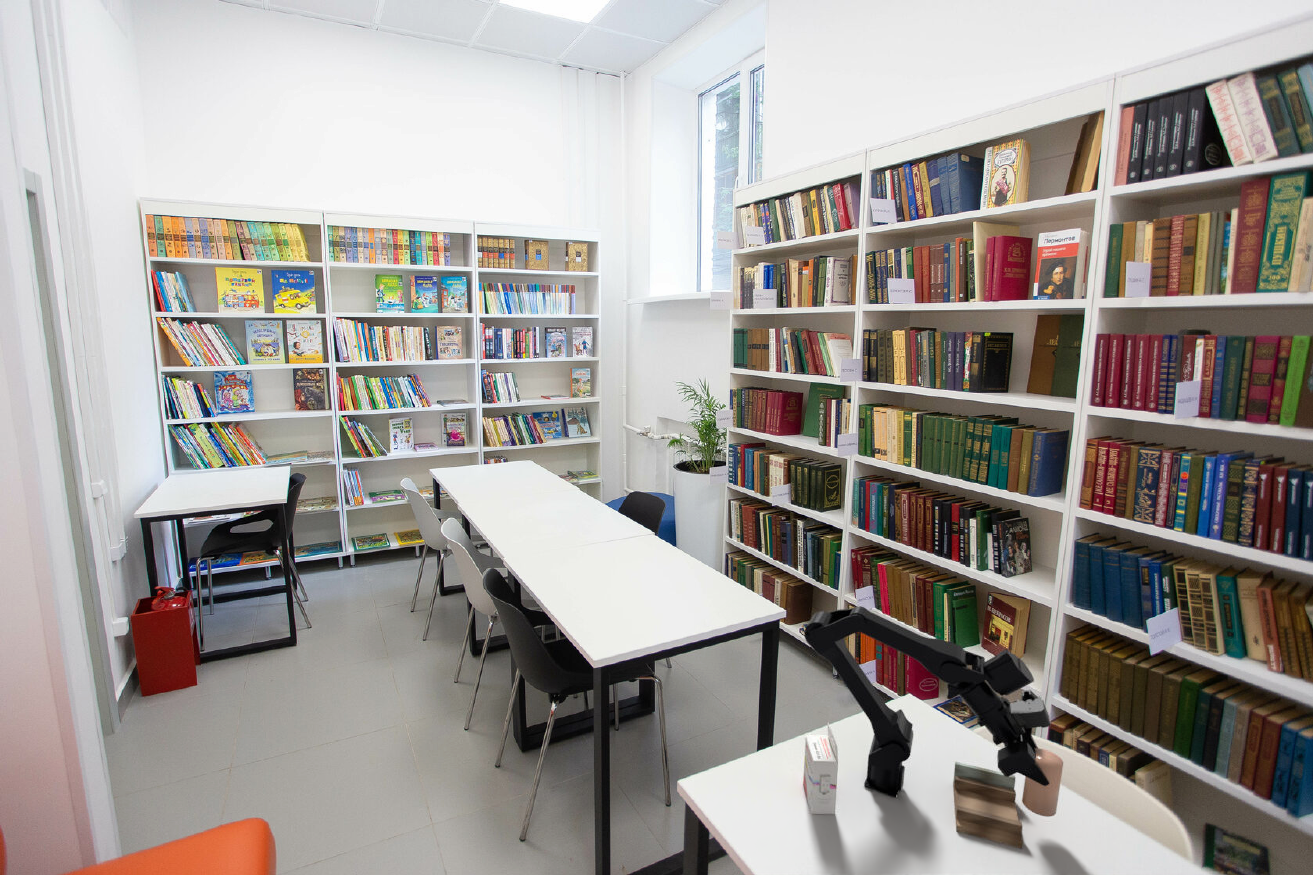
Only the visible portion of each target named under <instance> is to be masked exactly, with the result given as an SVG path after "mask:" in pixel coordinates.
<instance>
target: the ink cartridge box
mask: <svg viewBox="0 0 1313 875" xmlns="http://www.w3.org/2000/svg"><path fill="white" fill-rule="evenodd" d="M804 740H805V745H804V746H805V747H804V762H803V763H804V765H803V778H802V779H803V782H802V786H803V788H804V792H805V795H806V799H807V803H808V806H809V810H810V813H811V815H835V814H836V805H837V804H836V803H837V789H838V788H837V787H838V786H837V785H838V772H839V770H838V769H839V768H838V767H839V756H838V755H839V753H838V750H839V749H838V745H837V742H836V739H835V736H834V734H833V731H832V729H831V726H830V723H829V722H827V735H826V734H805V738H804Z"/></svg>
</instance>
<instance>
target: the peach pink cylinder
mask: <svg viewBox="0 0 1313 875" xmlns="http://www.w3.org/2000/svg"><path fill="white" fill-rule="evenodd" d="M1035 751H1036V762H1037V763H1038V765H1039V767H1040V768H1041V770H1042V771H1043V773H1044V774H1045V776H1046V778H1047V779H1048V781H1049V785H1047V786H1043V785H1041V784H1039V783H1037V782H1036V781H1034V780H1032V779H1030V778H1028V777H1026V776H1024V783H1023V791H1022V799H1021V801H1022V802H1021V803H1022V804H1023V806H1024V807H1025V808H1026V809H1027V810H1029V811H1030V812H1031V813H1034V814H1036V815H1038V816H1042V817H1046V818H1047V817H1049V818H1050V817H1053V816H1055V815H1056V814H1057V808H1058V803H1059V795H1060V788H1061V781H1062V775H1063V768H1064V761H1063V758H1061V757H1060V756H1059V755H1057V754H1056V753H1054V752H1052V751H1049V750H1048V749H1043V748H1039V747H1038V748H1035Z"/></svg>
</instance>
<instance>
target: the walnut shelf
mask: <svg viewBox="0 0 1313 875" xmlns="http://www.w3.org/2000/svg"><path fill="white" fill-rule="evenodd" d="M952 780H953V781H952V787H953V788H952V789H953V803H954V815H955V830H956V832H959V833H963V834H966V835H971V836H974V837H978V838H980V839H986V840H989V841H992V842H995V843H999V844H1004V845H1007V846H1011V847H1014V848H1018V849H1021V850H1022V849H1023V845H1024V844H1023V843H1024V842H1023V838H1022V834H1023V833H1022V832H1023V822H1022V821H1019V817H1018V812H1017V807H1016V796H1017V793H1016V789H1015V784H1016V774H1013V775H1011V776H1009V777H1006V776H1004V774H1003V773H1002V772H1001V771H997V770H993V769H989V768H984V767H980V766H976V765H973V764H972V765H971V764H967V763H965V762H958V761H955V762H954V772H953V779H952Z"/></svg>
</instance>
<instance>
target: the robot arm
mask: <svg viewBox="0 0 1313 875" xmlns="http://www.w3.org/2000/svg"><path fill="white" fill-rule="evenodd" d="M857 633H861V634H863V635H866V636H867V637H869V638H871V639H873V640H876V641H878V642H879V643H881V644H883V645H885V646H888V647H890V648H892V649H894V650H895V651H898V652H900V653H902V654H904V655H906V656H908V657H911V658H913V659H914V660H915V661H917V662H919V664H921V665H922V666H923V668H925V670H927V671H928V672H929V673H930V674H932V675H933V676H934V677H936V678H938V679H939V680H941V681H942V682H943V683H946V686H947V692H946V694H947V695H946V698H947V699H948V700H952V699H954V698H955V697H957V696H959V698H960V699H961V700H962V701H963V702H964V703H965V704H966V705H967V706H968V707H969V710H971V711H972V713H973V714H974V715H975V716H976V717H977V724H978V725H979V726H980V728H982V727H985V728H986V730H988V732H989V733H990V734H991V735H992V742H993V744H994V745H996V746H998V745H1001V744H1003V745H1004V747H1002V748H1001V749H1000V748H999V749H998V750H997V756H996V758H997V761H996V762H997V768H998V770H999V772H1002V773H1003V774H1004V776H1006V777H1009V776H1011V775H1016V774H1017V773H1018V774H1020V775H1022V776H1024V777H1025V776H1026V777H1028V778H1030V779H1032V780H1034V781H1036V782H1037V783H1039V784H1041V785H1043V786H1047V785H1049V781H1048V779H1047V778H1046V776H1045V774H1044V773H1043V771H1042V770H1041V768H1040V767H1039V765H1038V763H1037V762H1036V751H1035V748H1038V749H1039V746H1038V745H1037V743H1036V741H1035V740H1034V738H1033V735H1032V733H1033V729H1034V728H1035V729H1036V728H1044V729H1045V728H1049V727H1050V726H1051V721H1050V720H1051V719H1050V715H1049V712H1048V709H1047V707H1046V704H1045V702H1044V700H1043V699H1042V698H1041V695H1040V696H1038V695H1037V694H1035V693H1034V692H1033V691H1032V690H1031V689H1025V690H1022V691H1021V695H1020V698H1018V699H1017V700H1015V701H1012V702H1010V701H1009V700H1008V698H1007V697H1004V696H1010V695H1011V694H1014V693H1015V692H1017V691H1018V690H1021V689H1024V687H1027V686H1028V685H1030V684H1032V683H1035V679H1034V676H1033V674H1032V672H1031V671H1030V669H1029V667H1028V666H1027V665H1026V663H1025V662H1024V660H1022V659H1021V657H1018V656H1017V655H1016V654H1014V653H1012V652H1011V651H1010V650H1009V649H1007V648H1005V649H1003V650H1001V651H999V653H998V654H997V655H995V656H992V657H991V658H989V659H987V660H986V658H985V656H981V655H980V654H976V653H973V652H970V651H967V650H965V649H964V648H963V647H962V646H961V645H959V644H957V643H955V642H950V641H947V640H944V639H941V638H930V637H926V636H923V635H920V634H918V633H916V632H914V631H912V630H910V629H907V628H905V627H903V626H901V625H899V624H897V623H895V622H893V621H891V620H888V619H887V618H884V617H882V616H880V615H878V614H876V613H874V612H872V611H869V610H868V609H867V608H865V606H861V605H860V606H855V607H850V608H845V609H844V608H843V609H841V608H840V609H835V610H832V611H829V612H827V611H824V610H823V611H818V612H815V613H814V614H813V615H812V617H811V618H810V620H809V621H808V623H807V625H806V627H805V628H804V635H803V636H804V640H805V641H806V643H807V644H808V645H809V646H810V647H811V648H812V649H813V651H815V653H816V654H817V655H818V656H820V657H822V658H823V659H825V660H827V661H828V662H829V663H830V664H831V666H832V667H833V669H834V670H835V671H836V673H837V675H839V677H840V679H841V680H842V682H843V683H844V684H845V686H846V688H847V689H848V690H849V693H851V695H852V696H853V698H854V699H855V701H856V702H857V704H858V705H859V707H860V708H861V710H862V711H863V713H864V715H866V717H867V719H868V720H869V722H870V725H871V728H872V731H873V737H872V742H871V745H870V750H869V753H868V758H867V768H866V769H867V772H866V779H865V781H864V783H863V786H864V787H866V788H868V789H870V790H874V791H876V792H878V793H881V794H884V795H885V796H886V795H887V796H890V797H892V798H897V797H898V794H899V791H902V789H903V786H904V780H905V770H906V769H905V768H906V767H905V766H904V765H903V762H905V761H908V759H909V758H910V756H911V752H912V746H913V741H914V730H913V726H914V725H913V723H912V722H910V721H909V720H908V718H907V717H906V715H905V713H904V711H903V710H902V709H898V710H897V711H895V710H893V709H892V708H890V707H889V706H888V705H887V704H886V702H885V700H884V699H883V698H882V696H881V695H880V694H879V692H878V690H877V689H876V688H875V687H874V685H873V683H872V682H871V681H870V679H869V678H868V676H867V674H866V673H865V672H864V670H863V669H862V667H861V666H860V665H859V663H858V662H857V660H856V658H855V657H854V656H853V654H852V653H851V652H850V650H849V648H848V646H847V642H846V640H845V639H846V638H847V637H850V636H852V635H853V634H857ZM968 666H971V668H968ZM1000 696H1001V697H1000Z"/></svg>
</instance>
